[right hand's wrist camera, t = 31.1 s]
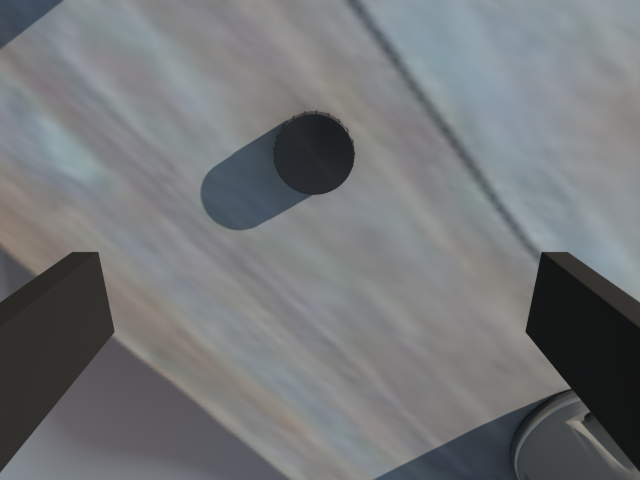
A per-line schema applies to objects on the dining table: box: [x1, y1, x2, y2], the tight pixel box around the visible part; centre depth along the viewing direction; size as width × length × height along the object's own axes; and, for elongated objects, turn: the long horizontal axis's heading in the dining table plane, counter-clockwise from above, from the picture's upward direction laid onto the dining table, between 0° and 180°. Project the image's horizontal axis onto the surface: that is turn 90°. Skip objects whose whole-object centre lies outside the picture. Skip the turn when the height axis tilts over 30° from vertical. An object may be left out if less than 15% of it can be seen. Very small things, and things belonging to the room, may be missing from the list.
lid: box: [273, 110, 355, 195], centre depth 30 cm, size 6×6×2 cm
